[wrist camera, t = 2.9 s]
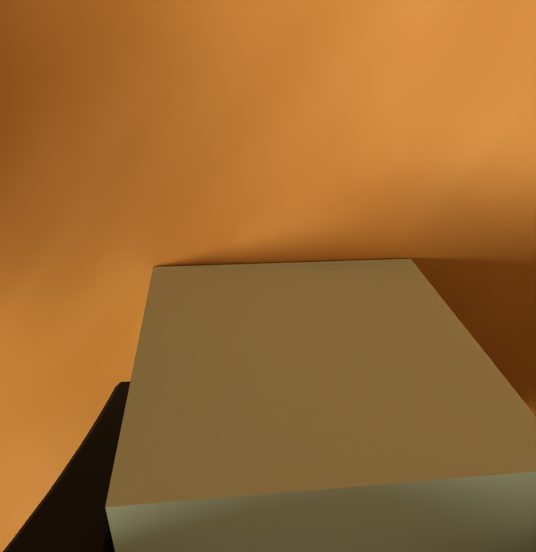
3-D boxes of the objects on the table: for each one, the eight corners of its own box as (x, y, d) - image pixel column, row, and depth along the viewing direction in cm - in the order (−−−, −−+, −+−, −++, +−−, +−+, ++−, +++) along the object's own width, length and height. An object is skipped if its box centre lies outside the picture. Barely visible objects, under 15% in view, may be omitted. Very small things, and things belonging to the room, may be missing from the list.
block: (377, 437, 12) (472, 681, 8) (173, 452, 12) (153, 722, 7) (410, 258, 10) (577, 468, 5) (153, 266, 9) (104, 508, 5)
